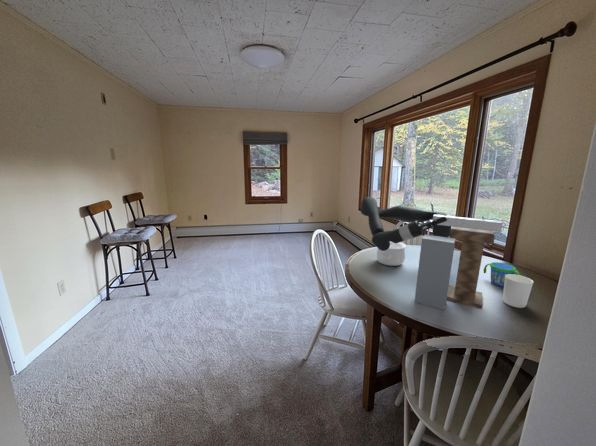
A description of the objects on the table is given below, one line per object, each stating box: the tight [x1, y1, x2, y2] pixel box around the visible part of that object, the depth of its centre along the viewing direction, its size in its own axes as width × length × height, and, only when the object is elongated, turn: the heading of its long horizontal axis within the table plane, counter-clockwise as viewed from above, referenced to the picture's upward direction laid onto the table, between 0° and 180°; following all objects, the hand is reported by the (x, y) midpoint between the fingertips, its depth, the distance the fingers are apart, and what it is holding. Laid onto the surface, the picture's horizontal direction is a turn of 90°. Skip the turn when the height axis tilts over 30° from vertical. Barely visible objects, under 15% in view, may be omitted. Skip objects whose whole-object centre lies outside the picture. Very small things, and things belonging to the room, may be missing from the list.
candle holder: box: [502, 273, 534, 309], centre depth 118 cm, size 10×10×12 cm
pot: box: [376, 241, 407, 267], centre depth 165 cm, size 22×17×12 cm
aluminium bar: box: [433, 215, 503, 233], centre depth 119 cm, size 26×4×4 cm, turn 56°
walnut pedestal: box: [446, 226, 496, 309], centre depth 121 cm, size 16×14×32 cm
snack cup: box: [483, 261, 521, 287], centre depth 138 cm, size 16×10×10 cm
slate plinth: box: [414, 234, 456, 311], centre depth 116 cm, size 12×8×30 cm, turn 56°
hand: (446, 217), depth 122 cm, fingers closed on aluminium bar, 4 cm apart
